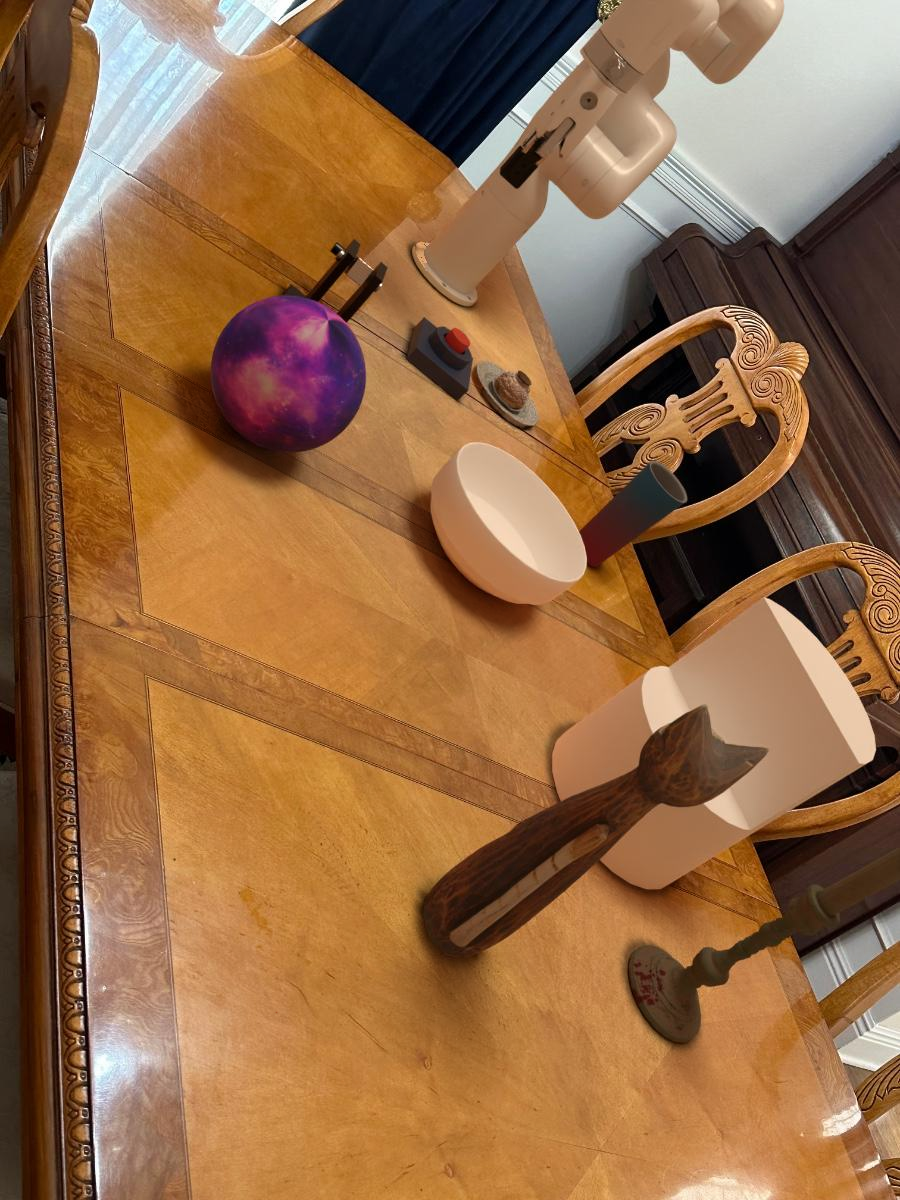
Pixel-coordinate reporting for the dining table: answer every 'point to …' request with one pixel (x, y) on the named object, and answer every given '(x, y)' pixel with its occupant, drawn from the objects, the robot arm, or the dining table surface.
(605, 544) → the cup
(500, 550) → the bowl
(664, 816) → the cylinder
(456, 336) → the button
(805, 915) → the candlestick holder
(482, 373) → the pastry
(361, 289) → the bracket
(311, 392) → the decorative orb
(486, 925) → the sculpture
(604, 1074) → the dining table surface
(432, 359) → the button box
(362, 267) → the lever
